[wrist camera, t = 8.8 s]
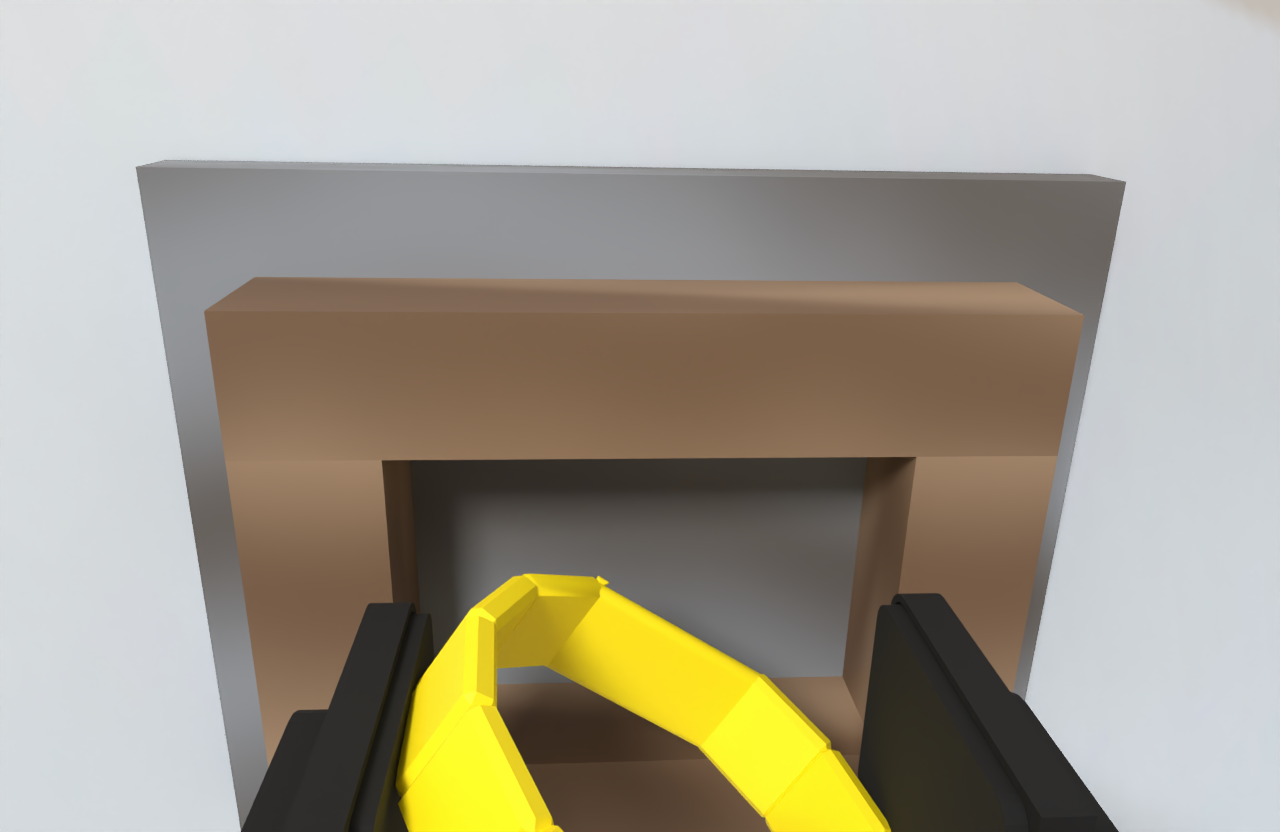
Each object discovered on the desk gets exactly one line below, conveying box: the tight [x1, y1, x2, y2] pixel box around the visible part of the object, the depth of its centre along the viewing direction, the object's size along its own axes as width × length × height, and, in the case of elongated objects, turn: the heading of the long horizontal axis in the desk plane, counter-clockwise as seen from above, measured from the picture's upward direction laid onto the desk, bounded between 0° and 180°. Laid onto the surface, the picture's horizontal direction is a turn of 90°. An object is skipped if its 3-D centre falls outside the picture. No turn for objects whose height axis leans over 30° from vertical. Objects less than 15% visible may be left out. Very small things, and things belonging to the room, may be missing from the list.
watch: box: [395, 574, 891, 832], centre depth 10 cm, size 6×3×6 cm, turn 55°
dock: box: [136, 160, 1126, 832], centre depth 15 cm, size 12×14×3 cm
